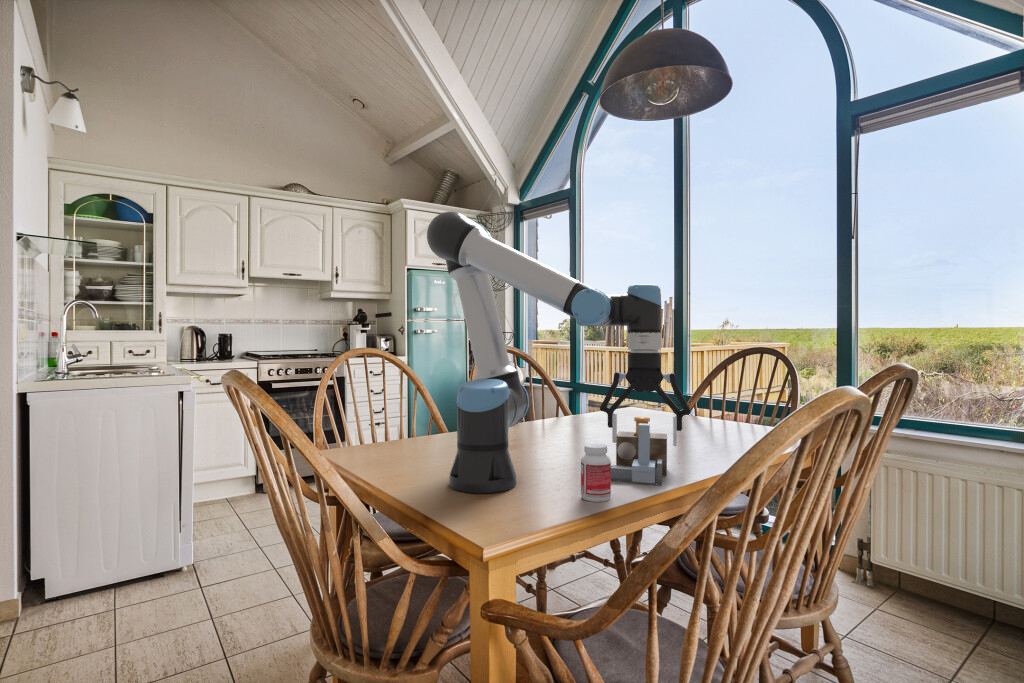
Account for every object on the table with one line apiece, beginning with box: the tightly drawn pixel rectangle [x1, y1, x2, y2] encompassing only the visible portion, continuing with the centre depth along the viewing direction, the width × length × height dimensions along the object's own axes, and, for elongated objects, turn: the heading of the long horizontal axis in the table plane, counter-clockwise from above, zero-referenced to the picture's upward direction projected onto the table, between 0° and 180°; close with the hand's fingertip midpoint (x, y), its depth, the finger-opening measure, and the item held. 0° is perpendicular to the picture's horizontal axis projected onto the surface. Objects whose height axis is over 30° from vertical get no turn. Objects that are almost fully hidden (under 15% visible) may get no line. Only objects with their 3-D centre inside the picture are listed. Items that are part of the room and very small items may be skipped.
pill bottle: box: [580, 443, 612, 503], centre depth 112 cm, size 6×6×11 cm
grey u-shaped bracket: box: [611, 459, 663, 487], centre depth 126 cm, size 17×5×5 cm, turn 73°
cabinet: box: [615, 430, 668, 477], centre depth 135 cm, size 12×7×9 cm, turn 73°
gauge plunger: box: [633, 416, 651, 436], centre depth 135 cm, size 4×4×7 cm
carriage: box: [631, 423, 656, 484], centre depth 125 cm, size 5×7×13 cm
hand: (644, 443), depth 125 cm, fingers open, 13 cm apart
